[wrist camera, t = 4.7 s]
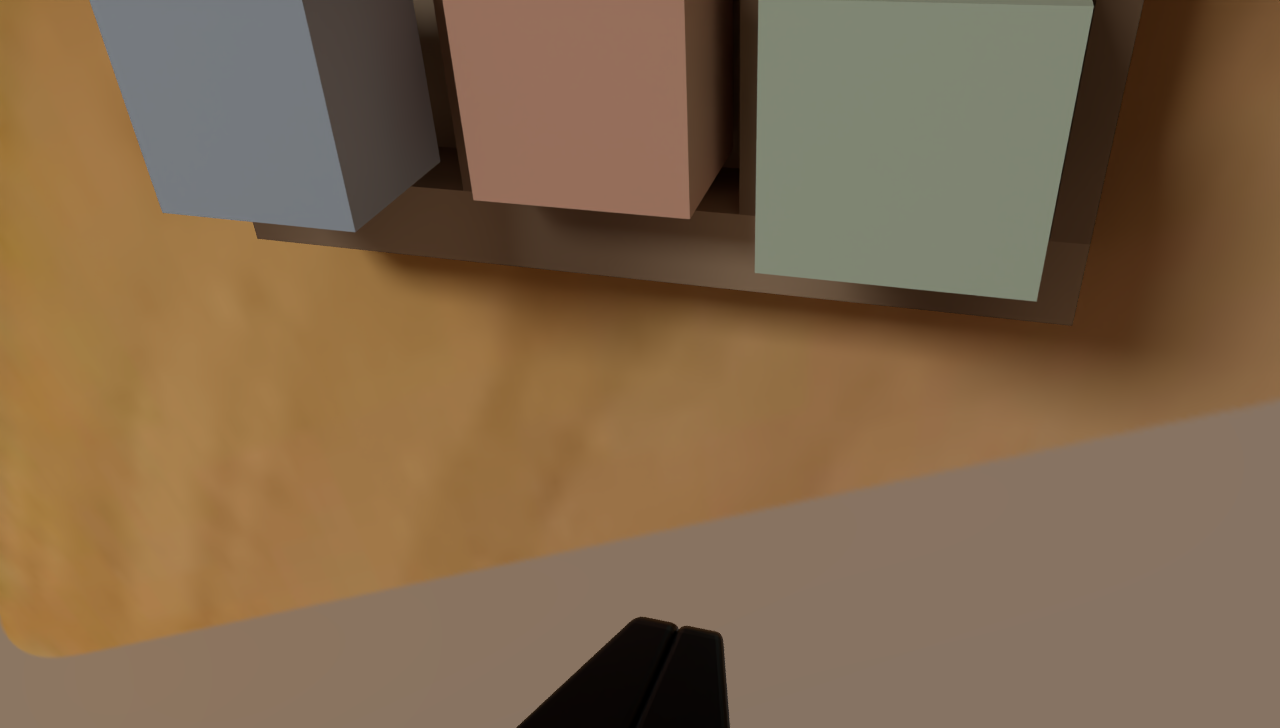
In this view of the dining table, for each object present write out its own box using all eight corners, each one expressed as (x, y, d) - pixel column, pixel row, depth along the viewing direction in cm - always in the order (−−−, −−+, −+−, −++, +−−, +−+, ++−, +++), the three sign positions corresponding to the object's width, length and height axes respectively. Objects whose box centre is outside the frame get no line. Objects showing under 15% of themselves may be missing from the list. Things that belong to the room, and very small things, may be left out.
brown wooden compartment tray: (1171, -247, 14) (1195, -235, 12) (1067, 256, 19) (1072, 326, 17) (225, -208, 19) (131, -196, 17) (322, 190, 23) (257, 238, 21)
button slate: (403, -57, 16) (299, -13, 14) (440, 161, 18) (355, 232, 16) (210, -59, 17) (83, -19, 15) (266, 148, 20) (162, 212, 17)
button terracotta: (732, -74, 16) (683, -32, 14) (732, 149, 18) (689, 219, 16) (517, -75, 17) (436, -37, 15) (540, 136, 19) (473, 200, 17)
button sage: (1080, -51, 14) (1094, 6, 11) (1034, 207, 16) (1036, 301, 13) (801, -53, 15) (758, -2, 12) (792, 189, 17) (755, 272, 14)
